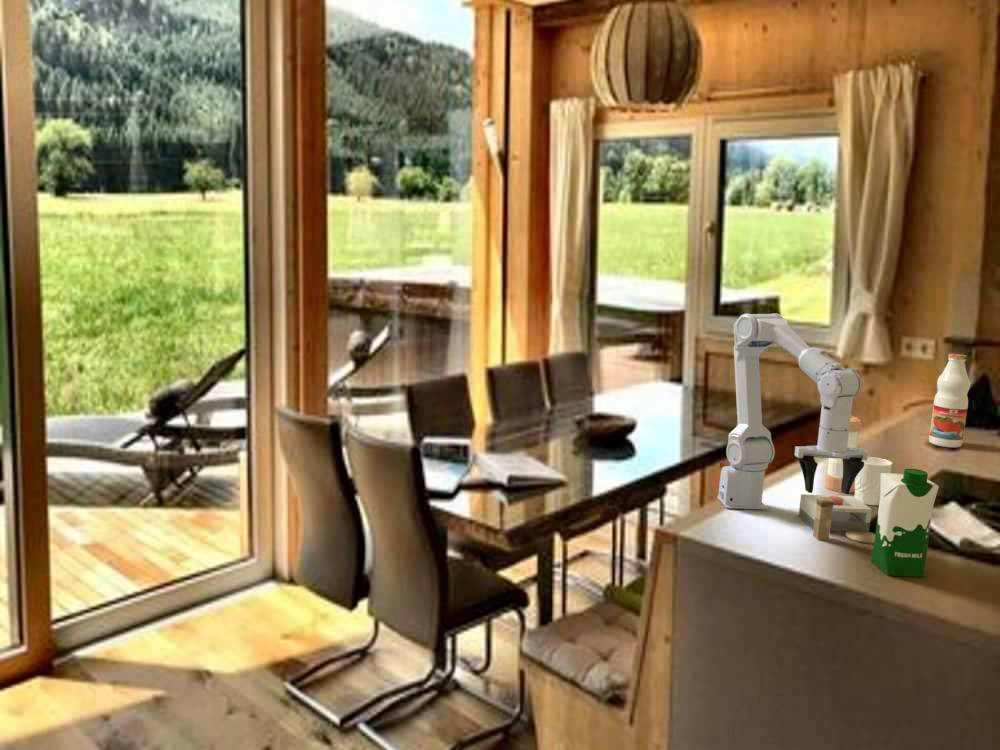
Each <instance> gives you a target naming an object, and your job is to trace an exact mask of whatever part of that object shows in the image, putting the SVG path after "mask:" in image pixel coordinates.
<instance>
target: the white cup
mask: <svg viewBox="0 0 1000 750" xmlns="http://www.w3.org/2000/svg"><path fill="white" fill-rule="evenodd" d="M862 461H863V462H864V467H863V468H862V469H861V471H860V472H859V473H858V475H857V476H856V478H855V491H854V497H855V498H857V499H858V500H860V501H861V502H862V503H864V504H865V505H867V506H868V505H869V506H879V503H880V488H881V473H892V468H893V462H892V461H890V460H887V459H884V458H883V457H882V458H881V457H875V456H868V458H867V460H862Z"/></svg>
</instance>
